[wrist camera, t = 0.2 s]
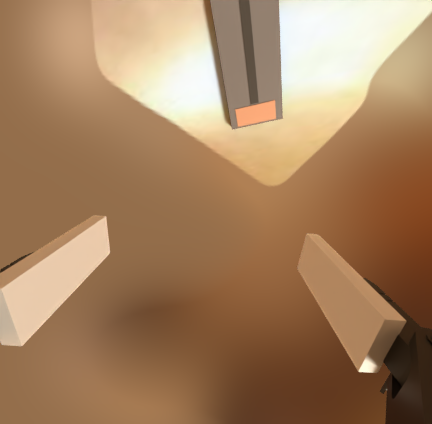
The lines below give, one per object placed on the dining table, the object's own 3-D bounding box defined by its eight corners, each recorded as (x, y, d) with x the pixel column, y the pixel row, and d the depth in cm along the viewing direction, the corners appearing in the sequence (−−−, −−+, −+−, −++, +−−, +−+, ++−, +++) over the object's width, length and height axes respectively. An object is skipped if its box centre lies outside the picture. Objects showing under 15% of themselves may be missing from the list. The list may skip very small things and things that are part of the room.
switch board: (191, -115, 21) (188, -127, 19) (270, -151, 19) (273, -167, 18) (232, 127, 34) (232, 129, 33) (280, 116, 33) (282, 118, 31)
